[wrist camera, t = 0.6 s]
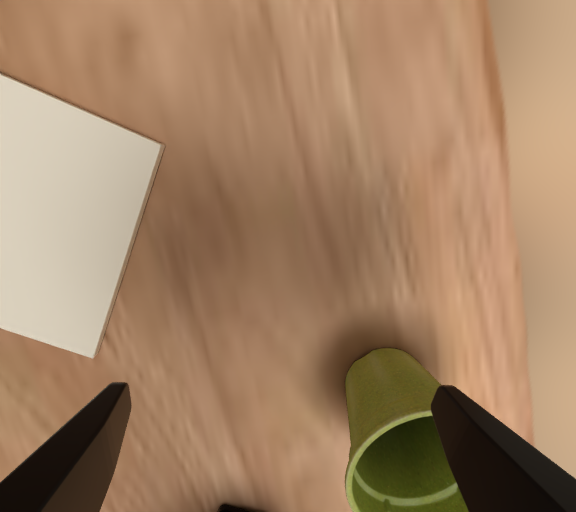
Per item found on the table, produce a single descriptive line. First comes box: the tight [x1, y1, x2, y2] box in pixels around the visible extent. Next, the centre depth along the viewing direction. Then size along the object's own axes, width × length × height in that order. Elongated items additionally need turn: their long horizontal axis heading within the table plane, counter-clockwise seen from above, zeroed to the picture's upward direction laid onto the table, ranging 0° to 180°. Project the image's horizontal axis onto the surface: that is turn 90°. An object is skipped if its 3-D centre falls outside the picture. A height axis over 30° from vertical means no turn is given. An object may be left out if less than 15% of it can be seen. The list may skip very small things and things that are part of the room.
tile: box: [0, 73, 165, 358], centre depth 21 cm, size 16×16×1 cm
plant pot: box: [345, 348, 469, 512], centre depth 22 cm, size 9×9×9 cm
